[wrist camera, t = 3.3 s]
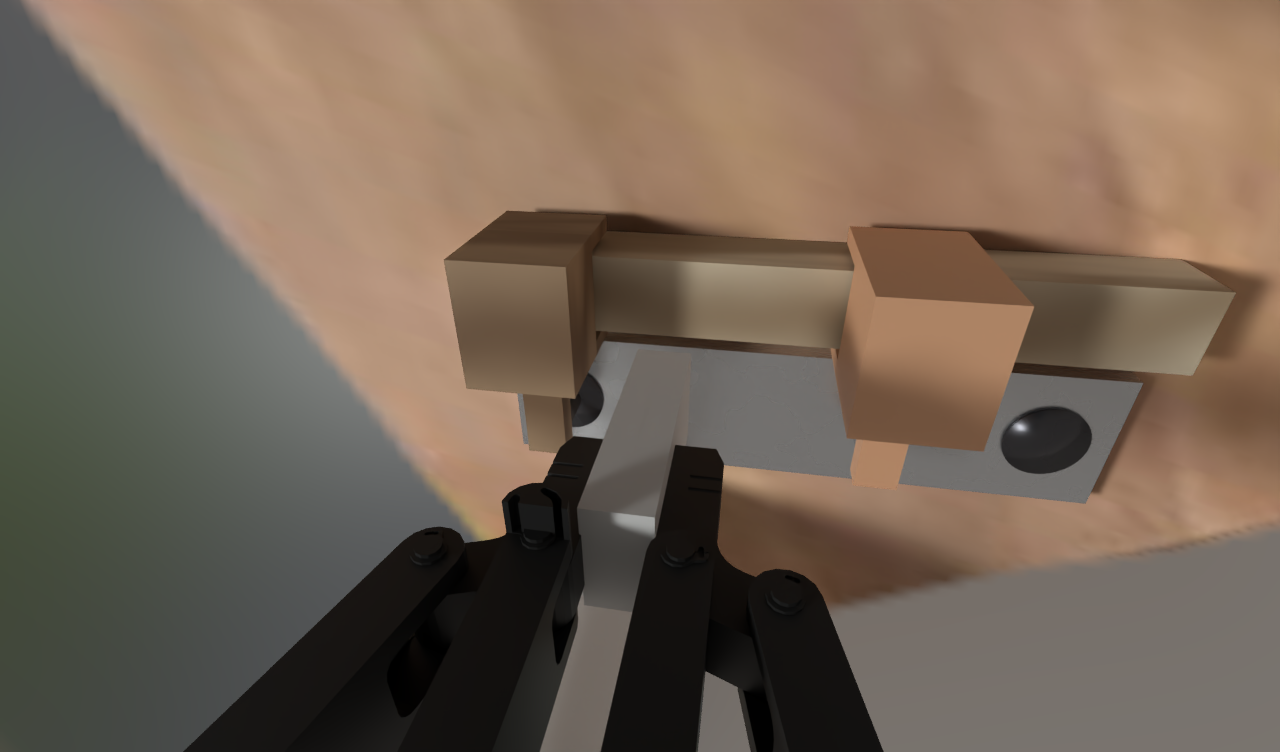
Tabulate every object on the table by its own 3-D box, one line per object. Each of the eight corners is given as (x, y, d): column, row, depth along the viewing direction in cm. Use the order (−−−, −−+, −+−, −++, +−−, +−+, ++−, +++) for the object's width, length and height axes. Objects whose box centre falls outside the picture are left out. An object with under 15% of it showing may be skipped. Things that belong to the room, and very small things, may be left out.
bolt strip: (517, 323, 28) (508, 335, 27) (1130, 370, 24) (1145, 385, 23) (530, 431, 31) (522, 445, 30) (1075, 488, 27) (1086, 505, 26)
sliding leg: (849, 226, 22) (875, 296, 17) (967, 232, 22) (1034, 306, 16) (814, 429, 27) (826, 535, 21) (911, 438, 26) (948, 550, 21)
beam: (505, 225, 26) (476, 249, 23) (1181, 259, 22) (1236, 292, 19) (513, 293, 27) (487, 322, 25) (1146, 335, 23) (1192, 375, 21)
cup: (703, 465, 30) (650, 838, 17) (692, 581, 34) (643, 953, 21) (541, 444, 31) (368, 777, 18) (550, 559, 36) (416, 898, 22)
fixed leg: (507, 210, 24) (443, 259, 20) (606, 215, 24) (565, 267, 19) (529, 402, 29) (482, 479, 24) (613, 410, 28) (581, 491, 24)
